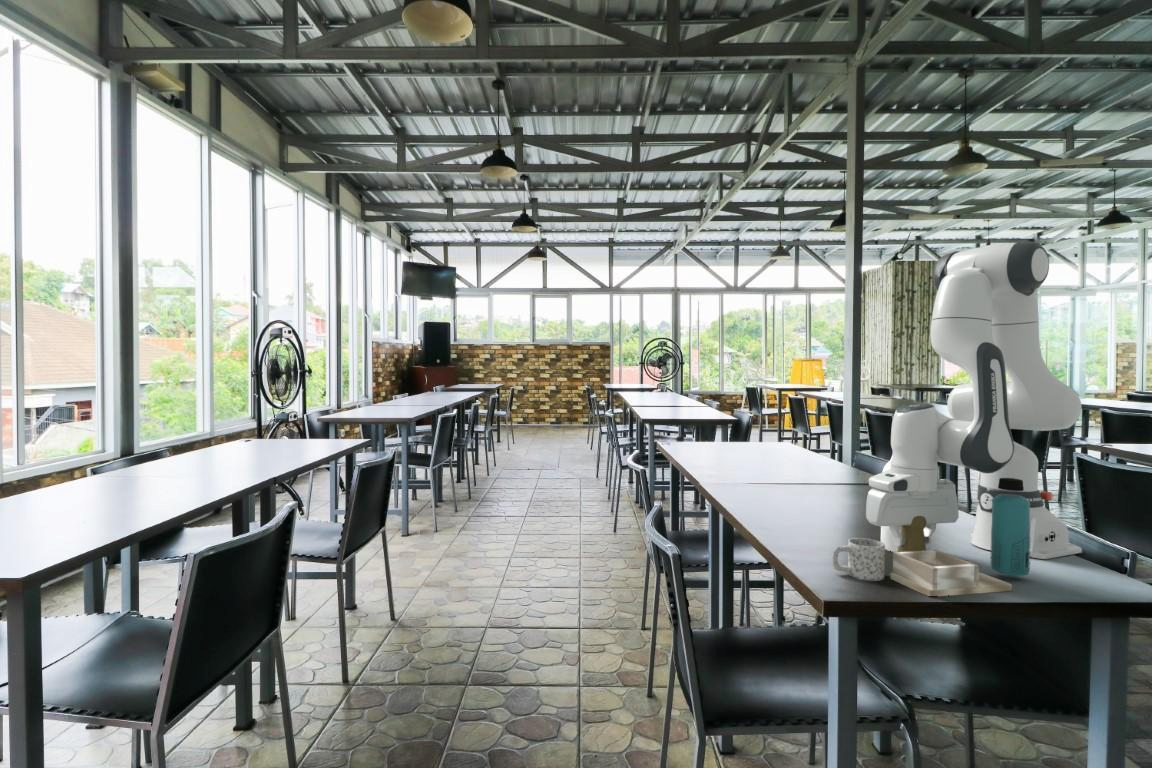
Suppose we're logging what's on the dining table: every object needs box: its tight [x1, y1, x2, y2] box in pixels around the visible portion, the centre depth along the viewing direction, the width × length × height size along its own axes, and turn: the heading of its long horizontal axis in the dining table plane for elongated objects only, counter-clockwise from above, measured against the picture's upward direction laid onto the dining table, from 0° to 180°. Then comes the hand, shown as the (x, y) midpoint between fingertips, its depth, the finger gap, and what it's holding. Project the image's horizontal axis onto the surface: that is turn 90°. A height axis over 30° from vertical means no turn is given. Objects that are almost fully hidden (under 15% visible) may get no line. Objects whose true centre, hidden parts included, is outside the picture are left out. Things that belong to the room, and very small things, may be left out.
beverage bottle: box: [989, 478, 1031, 577], centre depth 121 cm, size 6×7×20 cm
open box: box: [889, 549, 1013, 597], centre depth 117 cm, size 18×10×5 cm, turn 102°
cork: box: [897, 516, 927, 552], centre depth 129 cm, size 6×6×11 cm
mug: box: [832, 537, 886, 582], centre depth 122 cm, size 10×7×7 cm
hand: (912, 544), depth 129 cm, fingers closed on cork, 5 cm apart
